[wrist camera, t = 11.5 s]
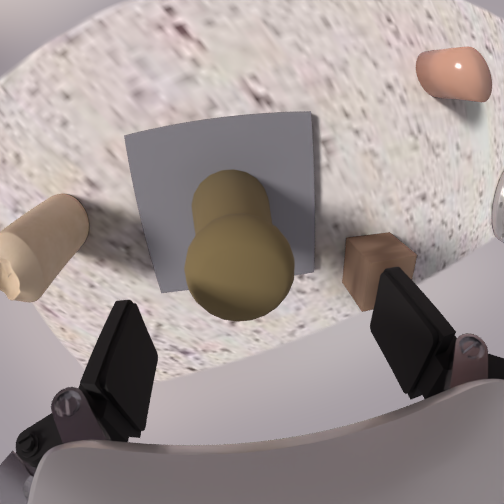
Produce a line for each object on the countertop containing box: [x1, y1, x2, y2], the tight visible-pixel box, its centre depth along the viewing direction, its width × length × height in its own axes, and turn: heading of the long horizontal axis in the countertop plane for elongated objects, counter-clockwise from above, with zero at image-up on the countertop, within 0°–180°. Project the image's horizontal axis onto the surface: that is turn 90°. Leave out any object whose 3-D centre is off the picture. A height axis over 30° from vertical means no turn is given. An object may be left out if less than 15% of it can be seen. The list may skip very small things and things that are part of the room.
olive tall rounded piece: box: [184, 169, 295, 321], centre depth 17 cm, size 6×6×11 cm
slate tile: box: [124, 111, 315, 293], centre depth 22 cm, size 14×14×1 cm
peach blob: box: [416, 47, 492, 102], centre depth 15 cm, size 5×5×6 cm
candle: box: [0, 194, 89, 302], centre depth 16 cm, size 6×6×10 cm
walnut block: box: [342, 232, 417, 312], centre depth 24 cm, size 5×5×5 cm
